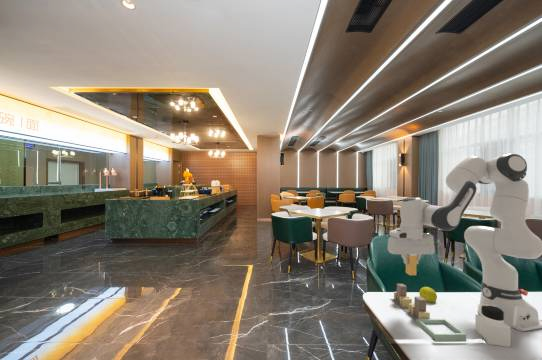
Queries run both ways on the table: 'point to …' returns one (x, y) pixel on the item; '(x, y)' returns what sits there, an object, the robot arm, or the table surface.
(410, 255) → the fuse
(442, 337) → the tray
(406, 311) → the holder
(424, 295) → the tennis ball
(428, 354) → the table surface
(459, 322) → the table surface
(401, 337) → the table surface
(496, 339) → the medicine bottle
